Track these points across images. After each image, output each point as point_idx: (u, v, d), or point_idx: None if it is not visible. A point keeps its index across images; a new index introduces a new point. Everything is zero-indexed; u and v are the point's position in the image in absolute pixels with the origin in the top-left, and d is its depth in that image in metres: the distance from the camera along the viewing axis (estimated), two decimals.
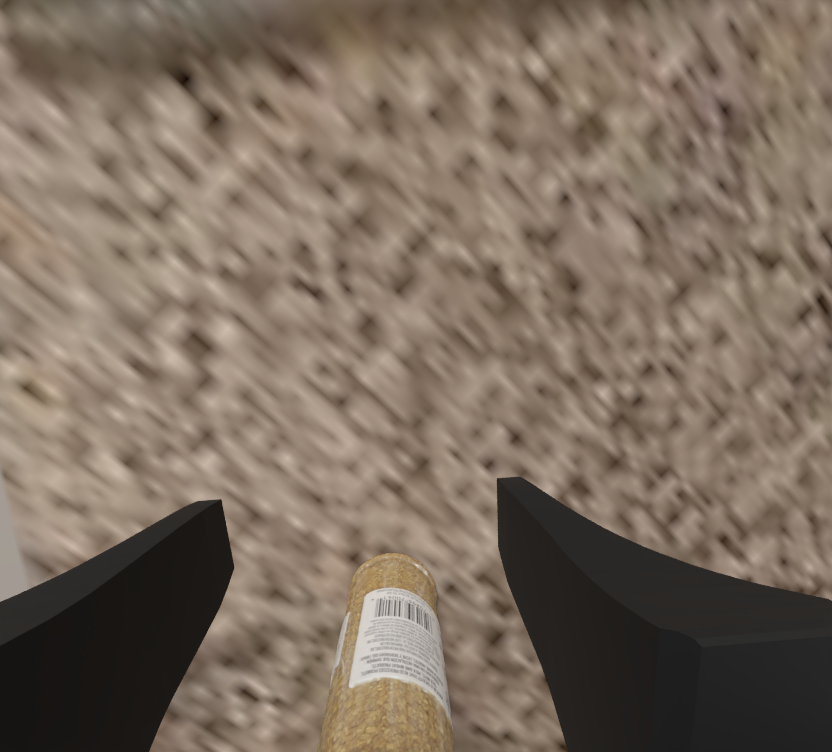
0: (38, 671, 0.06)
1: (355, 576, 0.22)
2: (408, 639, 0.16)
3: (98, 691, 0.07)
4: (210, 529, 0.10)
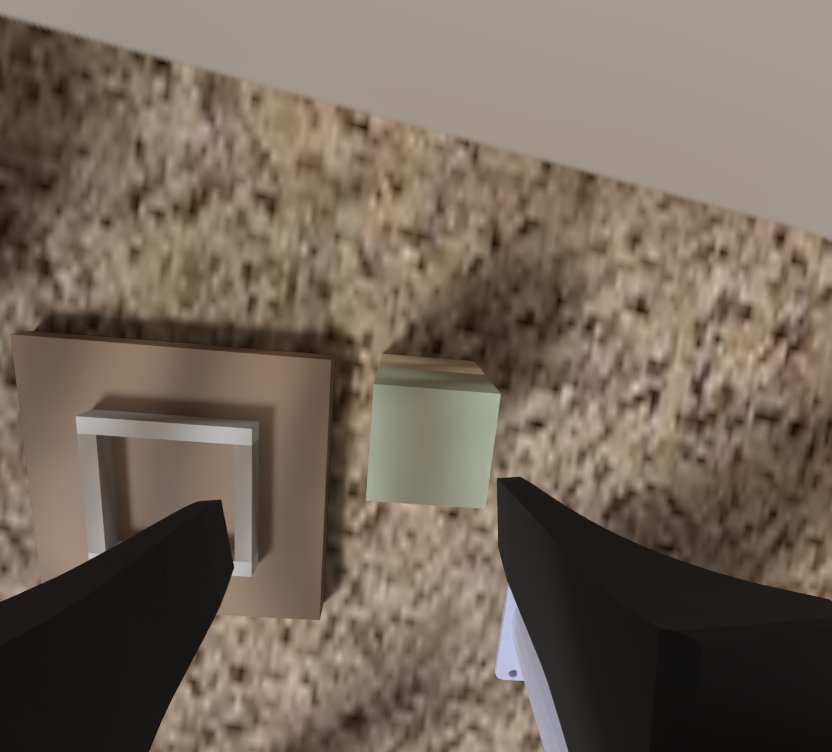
0: (38, 671, 0.06)
1: None
2: None
3: (98, 691, 0.07)
4: (210, 529, 0.10)
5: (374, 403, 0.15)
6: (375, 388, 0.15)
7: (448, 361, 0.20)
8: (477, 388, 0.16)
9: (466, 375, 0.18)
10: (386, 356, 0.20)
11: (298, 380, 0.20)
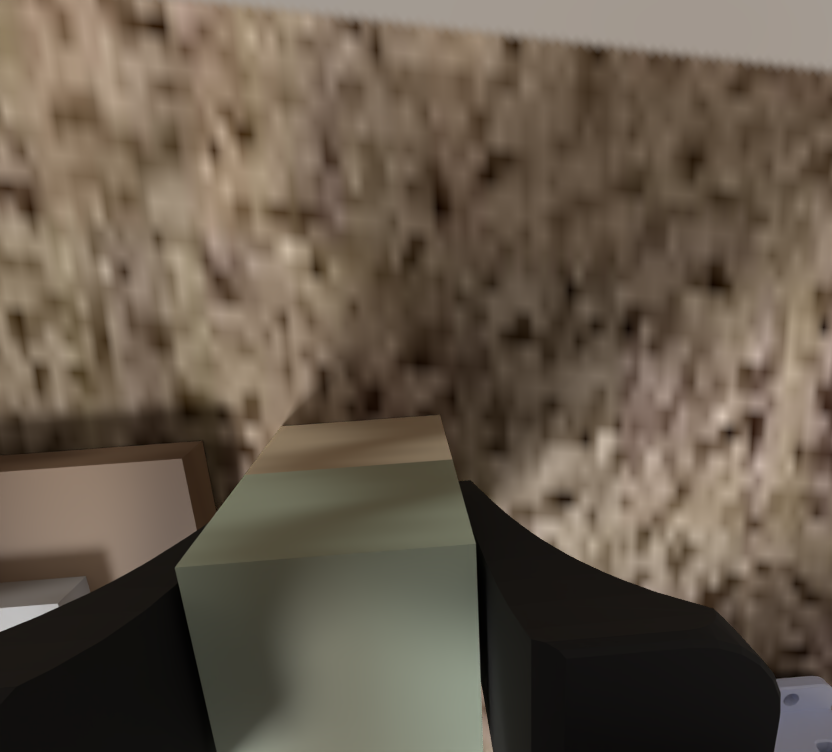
0: (136, 663, 0.06)
1: None
2: None
3: (181, 684, 0.07)
4: None
5: (187, 608, 0.07)
6: (180, 576, 0.06)
7: (392, 426, 0.12)
8: (425, 525, 0.07)
9: (413, 470, 0.09)
10: (283, 434, 0.12)
11: (134, 500, 0.11)
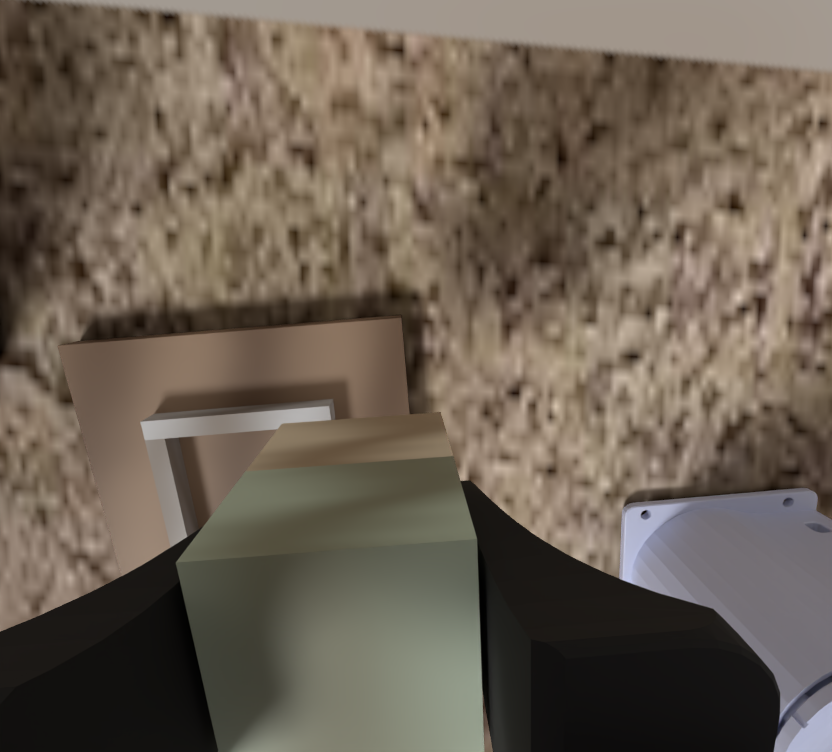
0: (136, 663, 0.06)
1: None
2: None
3: (181, 684, 0.07)
4: None
5: (188, 603, 0.07)
6: (181, 571, 0.06)
7: (393, 423, 0.12)
8: (426, 521, 0.07)
9: (414, 466, 0.09)
10: (284, 431, 0.12)
11: (369, 346, 0.18)
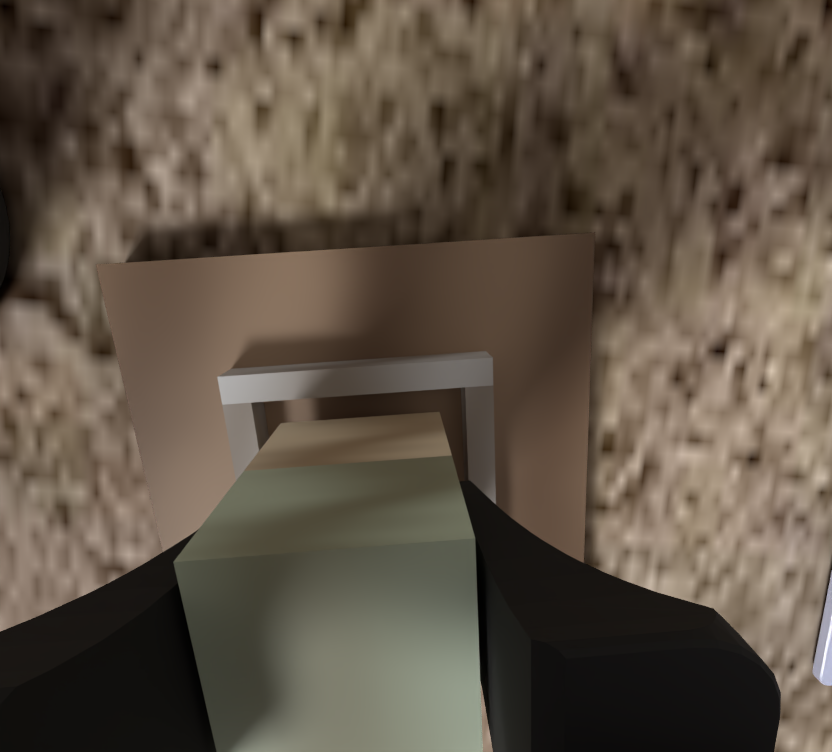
0: (136, 663, 0.06)
1: None
2: None
3: (181, 684, 0.07)
4: None
5: (185, 603, 0.07)
6: (179, 571, 0.06)
7: (392, 423, 0.12)
8: (424, 520, 0.07)
9: (413, 466, 0.09)
10: (283, 430, 0.12)
11: (544, 274, 0.13)
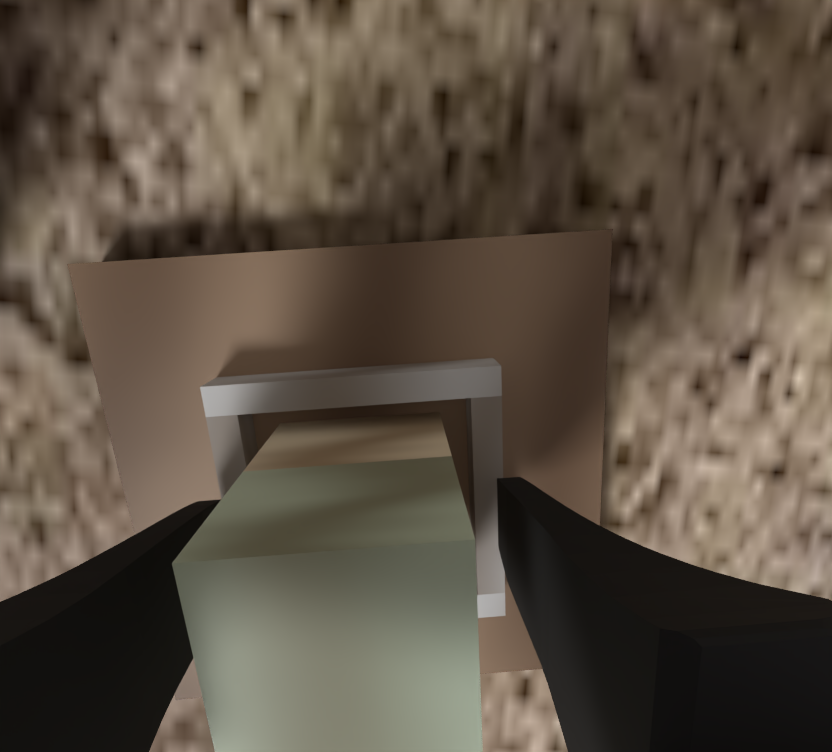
0: (38, 671, 0.06)
1: None
2: None
3: (98, 691, 0.07)
4: None
5: (184, 604, 0.07)
6: (177, 572, 0.06)
7: (391, 423, 0.12)
8: (424, 521, 0.07)
9: (412, 466, 0.09)
10: (282, 431, 0.12)
11: (557, 274, 0.12)
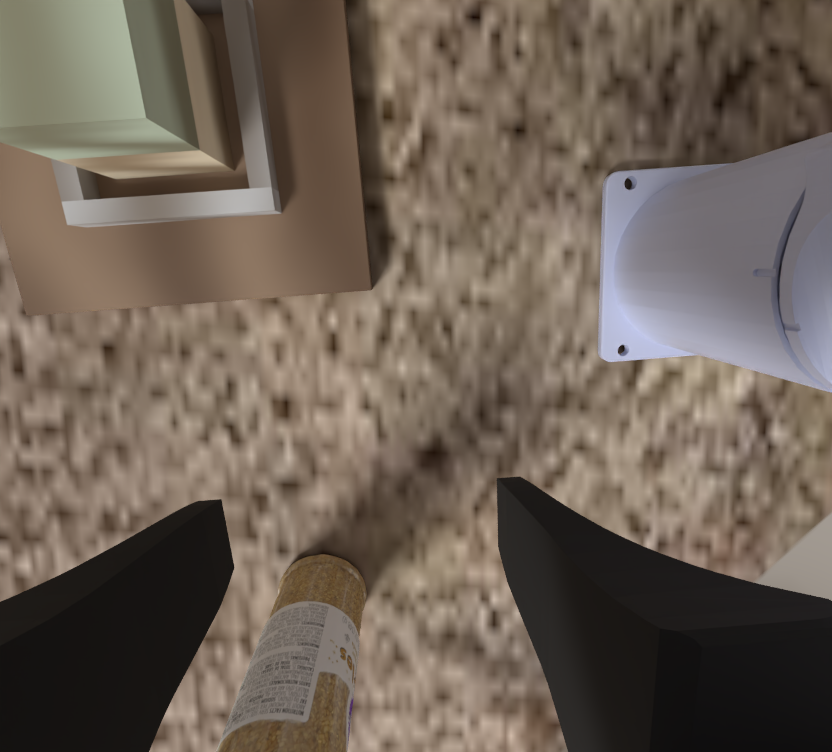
0: (38, 671, 0.06)
1: None
2: None
3: (98, 691, 0.07)
4: (209, 529, 0.10)
5: None
6: None
7: None
8: None
9: None
10: None
11: None
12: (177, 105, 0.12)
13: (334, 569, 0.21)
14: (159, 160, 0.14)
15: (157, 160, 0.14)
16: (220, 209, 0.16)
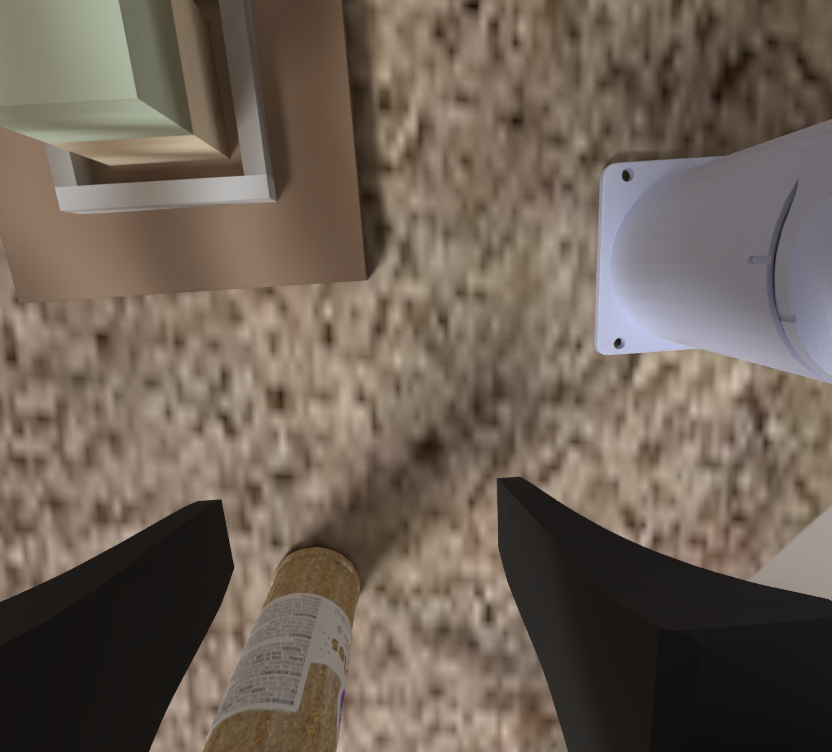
0: (38, 671, 0.06)
1: None
2: None
3: (98, 691, 0.07)
4: (210, 529, 0.10)
5: None
6: None
7: None
8: None
9: None
10: None
11: None
12: (170, 87, 0.12)
13: (328, 562, 0.21)
14: (153, 145, 0.14)
15: (151, 145, 0.14)
16: (215, 196, 0.16)
